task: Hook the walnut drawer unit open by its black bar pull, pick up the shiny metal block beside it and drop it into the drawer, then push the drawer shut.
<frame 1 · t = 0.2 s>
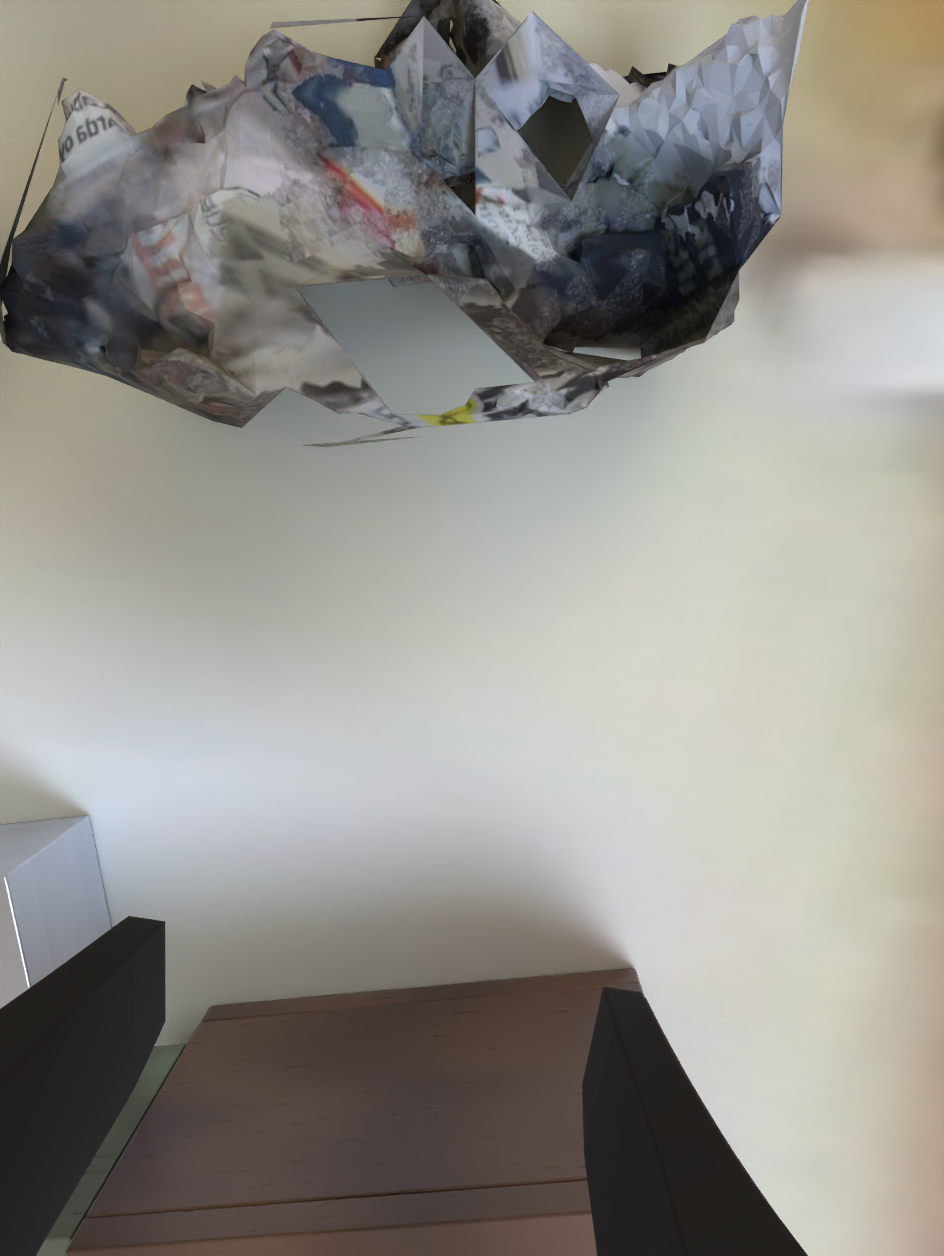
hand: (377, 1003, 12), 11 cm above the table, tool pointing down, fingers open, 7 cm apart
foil: (434, 275, 21), on the table
shiny metal block: (19, 891, 23), on the table
cabinet: (441, 1142, 24), on the table
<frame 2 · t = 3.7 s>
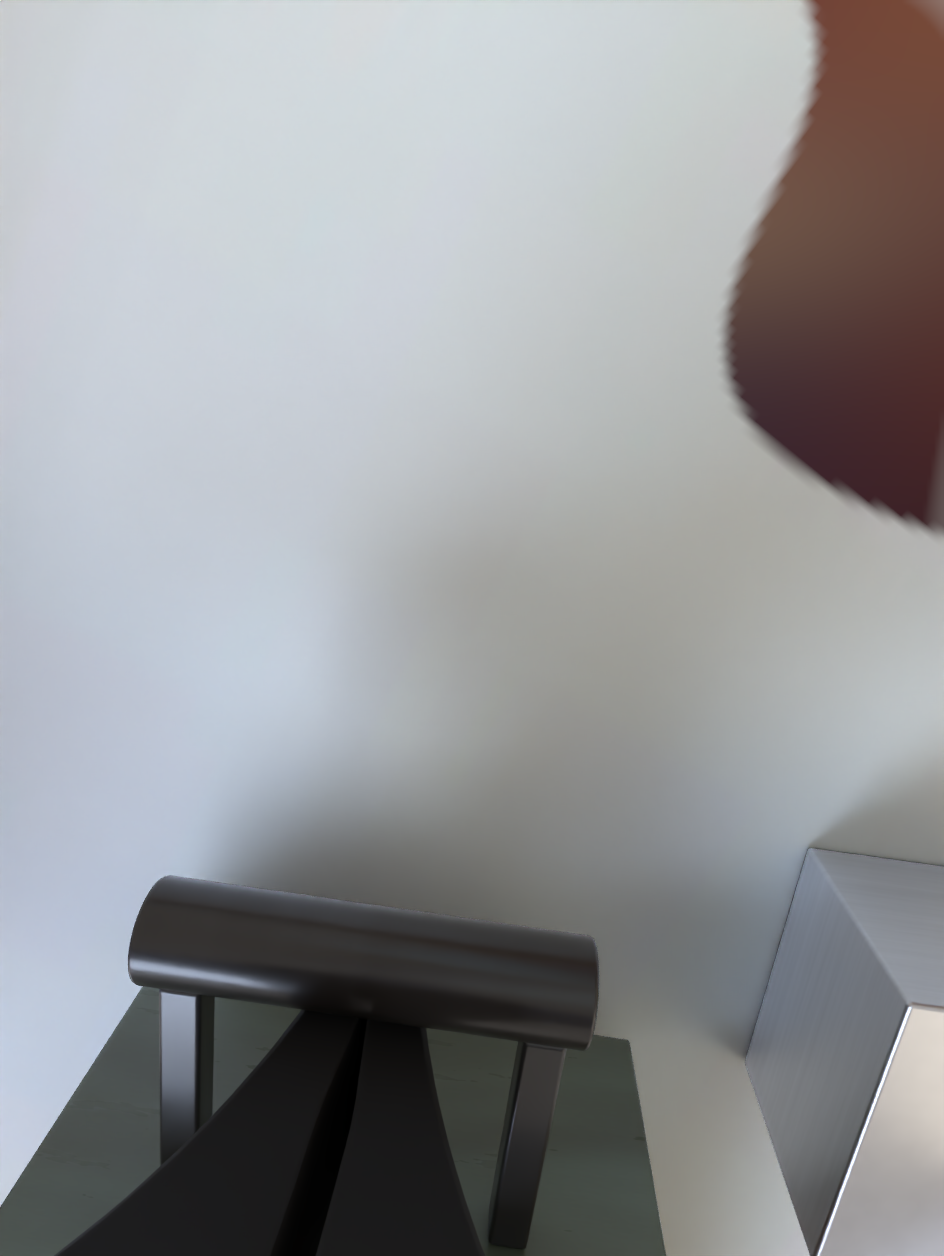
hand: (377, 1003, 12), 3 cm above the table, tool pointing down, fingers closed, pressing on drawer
shiny metal block: (882, 975, 15), on the table
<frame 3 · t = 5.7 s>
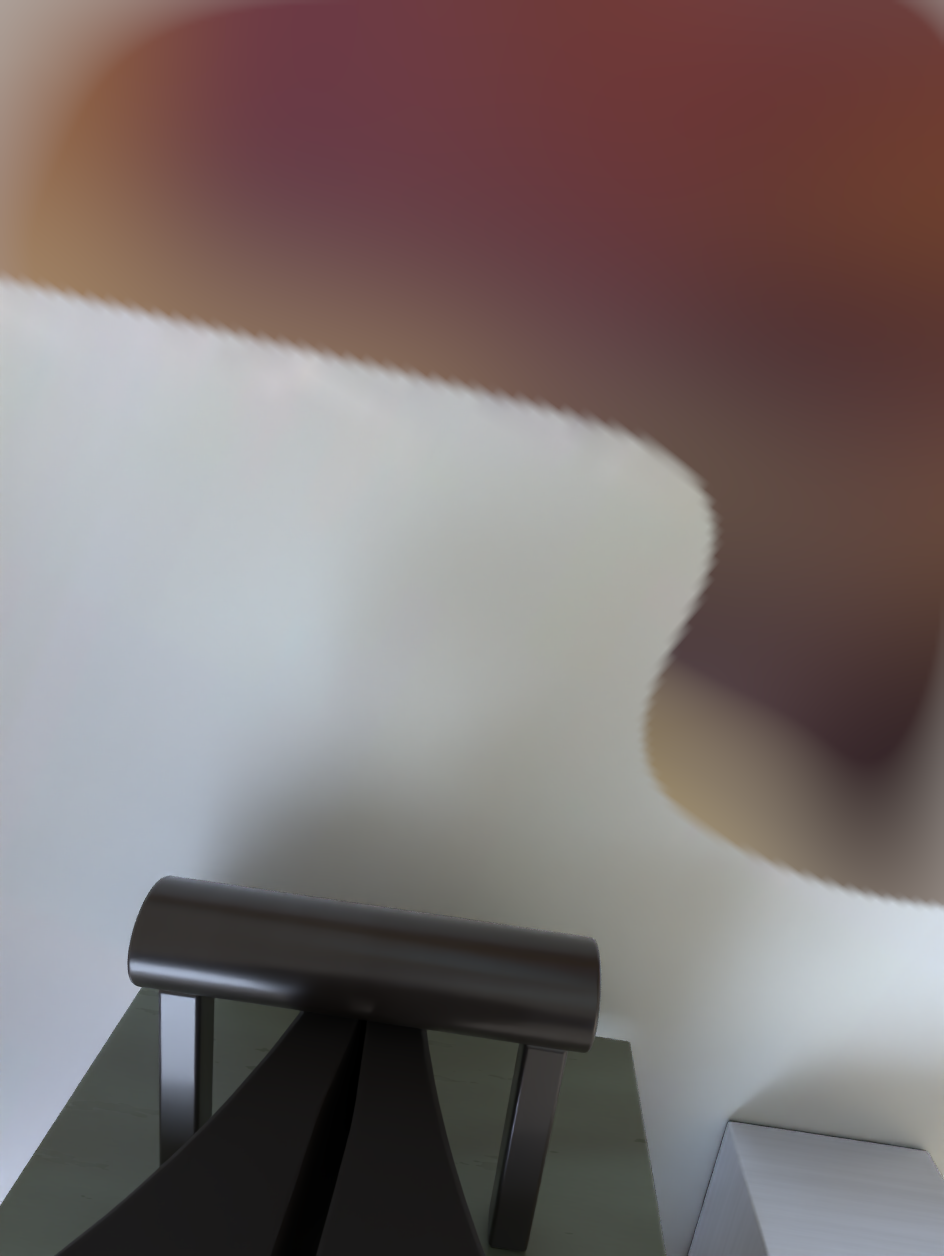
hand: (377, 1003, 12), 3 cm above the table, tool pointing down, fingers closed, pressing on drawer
shiny metal block: (796, 1221, 17), on the table
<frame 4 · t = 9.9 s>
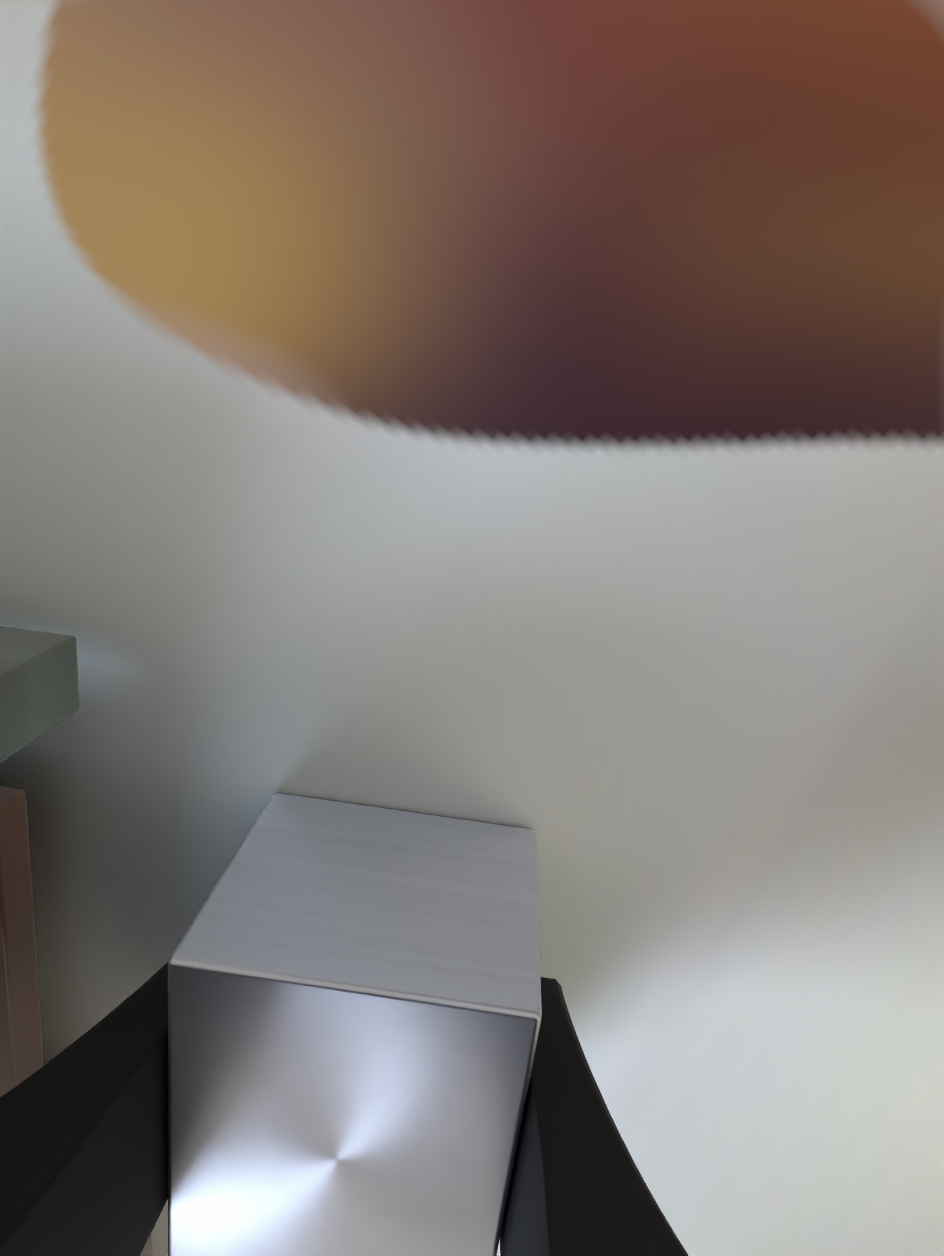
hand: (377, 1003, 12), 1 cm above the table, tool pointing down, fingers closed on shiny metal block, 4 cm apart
shiny metal block: (389, 942, 13), on the table, touching gripper
when the fingers open (6 cm above the table, at t = 14.3 s): shiny metal block stays where it is, resting on drawer.
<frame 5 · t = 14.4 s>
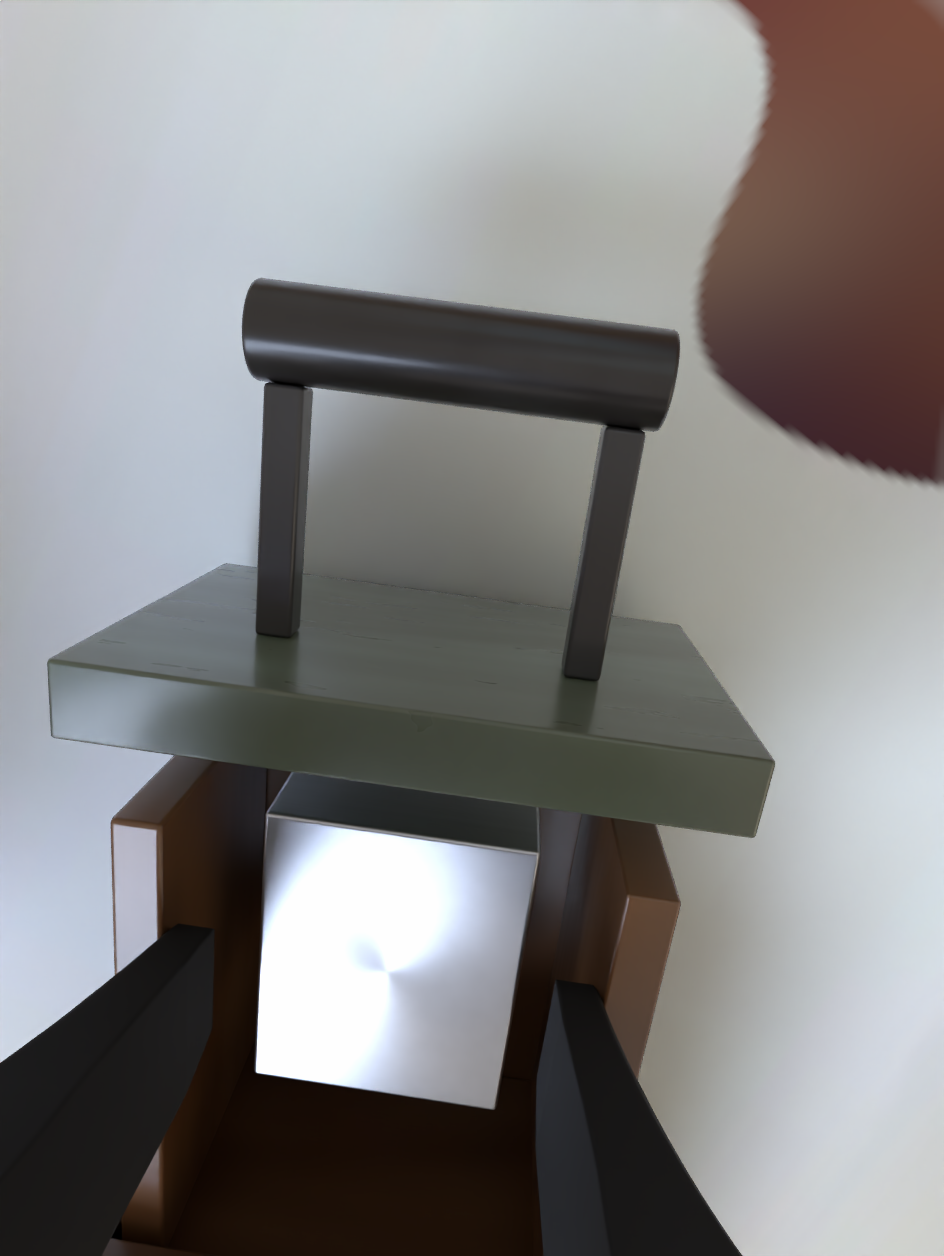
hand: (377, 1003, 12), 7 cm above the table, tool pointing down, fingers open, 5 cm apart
drawer: (413, 817, 14), point 4 cm above the table, slide at 9.6 cm, touching shiny metal block
shiny metal block: (418, 839, 16), point 2 cm above the table, touching drawer
cabinet: (386, 1154, 22), on the table
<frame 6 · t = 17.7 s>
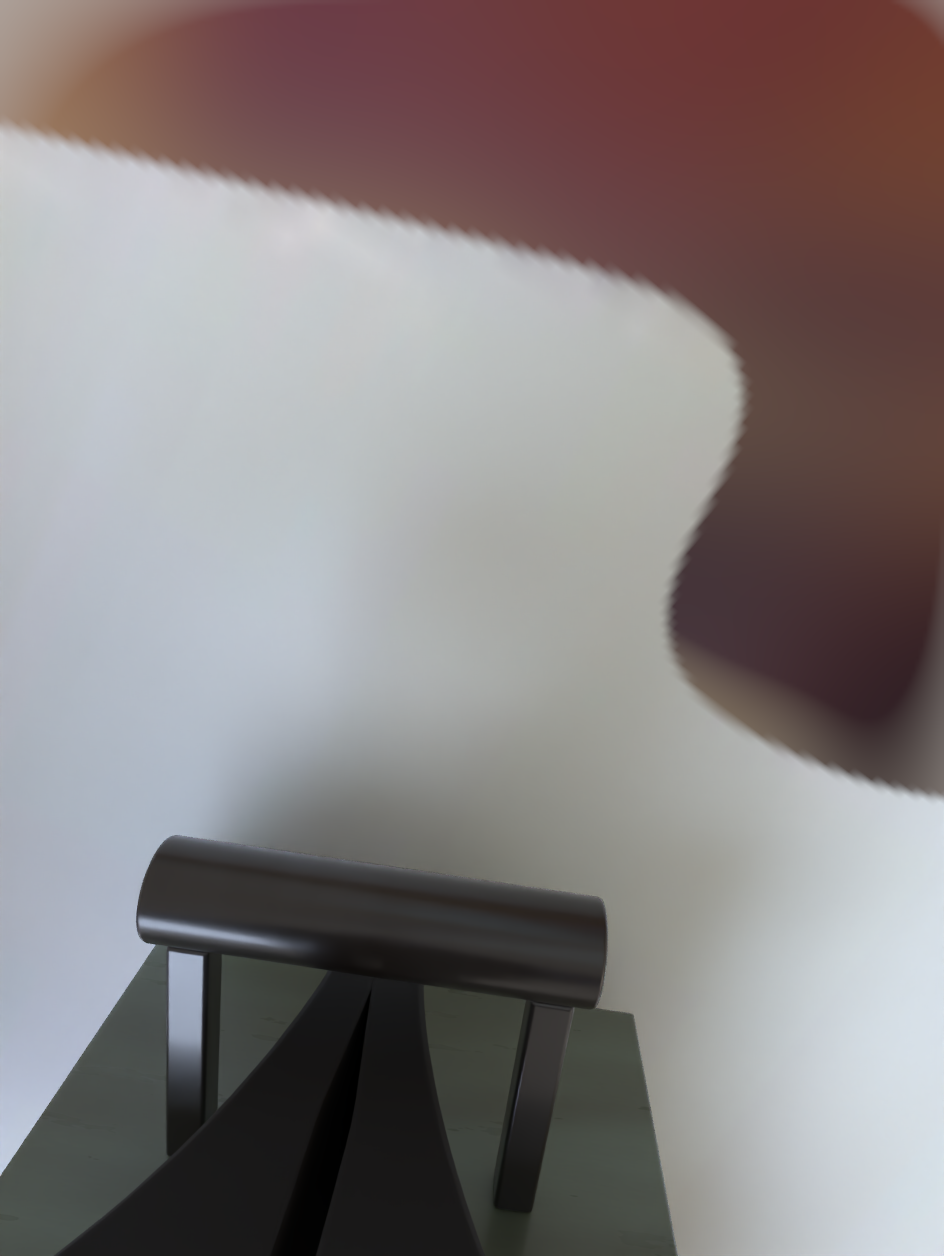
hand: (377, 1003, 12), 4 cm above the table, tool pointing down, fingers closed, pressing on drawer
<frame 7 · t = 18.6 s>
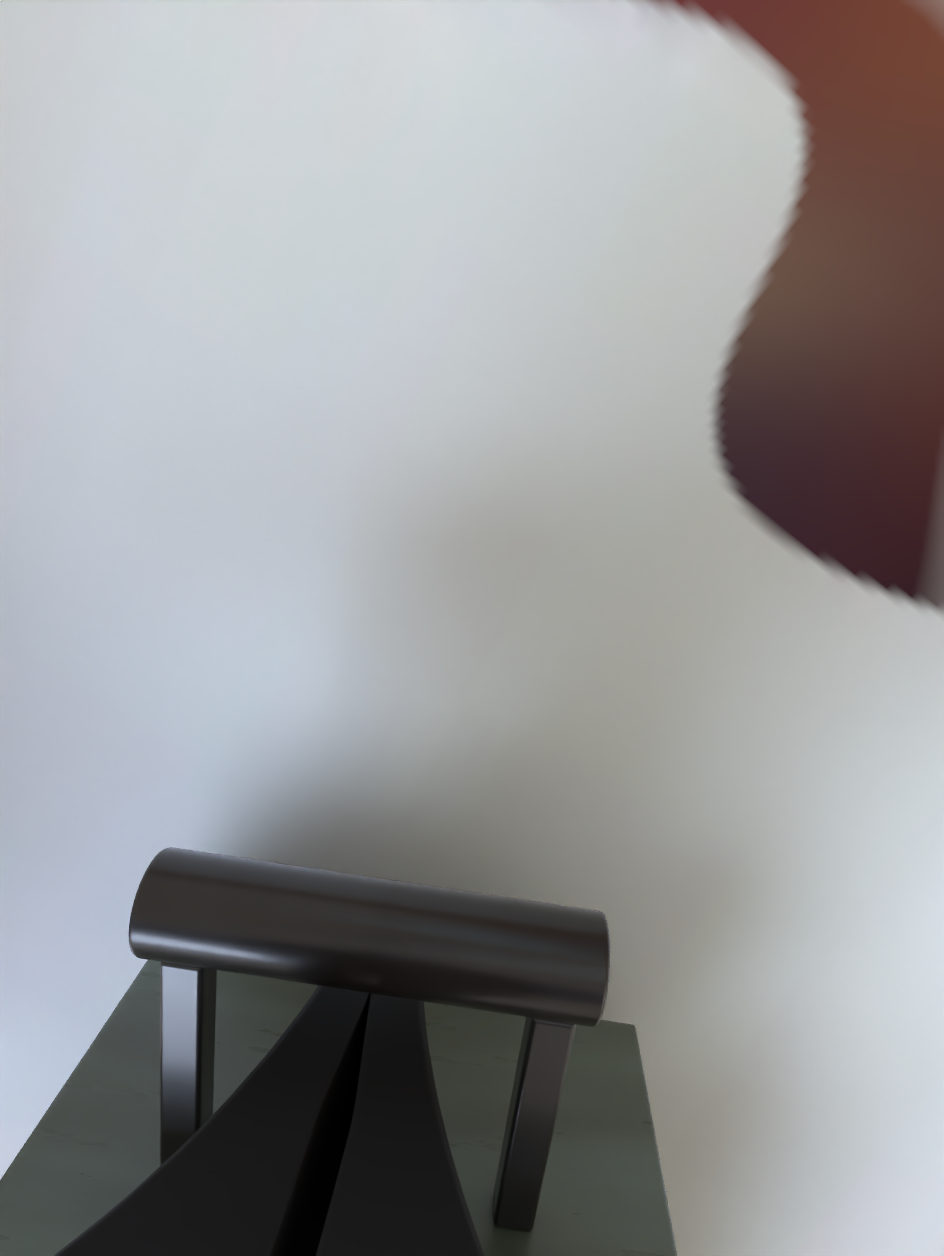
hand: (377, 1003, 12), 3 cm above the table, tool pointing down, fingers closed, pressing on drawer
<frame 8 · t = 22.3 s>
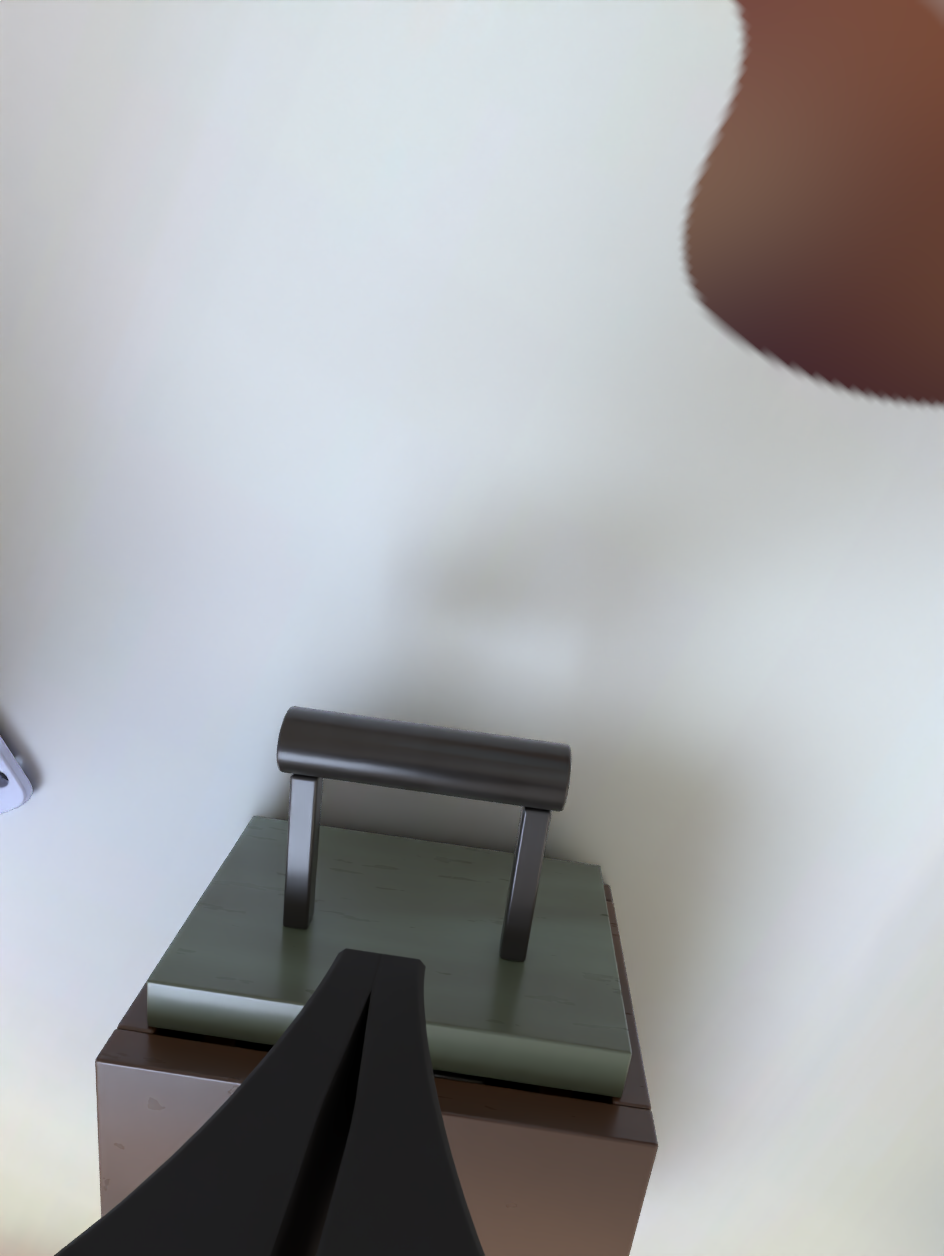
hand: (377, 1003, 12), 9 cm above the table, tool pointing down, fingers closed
drawer: (396, 1030, 19), point 4 cm above the table, slide at 0.0 cm, touching cabinet, shiny metal block
shiny metal block: (402, 1022, 21), point 2 cm above the table, touching drawer
cabinet: (404, 1035, 24), on the table
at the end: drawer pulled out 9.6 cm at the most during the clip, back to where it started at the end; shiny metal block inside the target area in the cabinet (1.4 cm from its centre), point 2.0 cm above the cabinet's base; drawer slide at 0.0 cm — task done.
